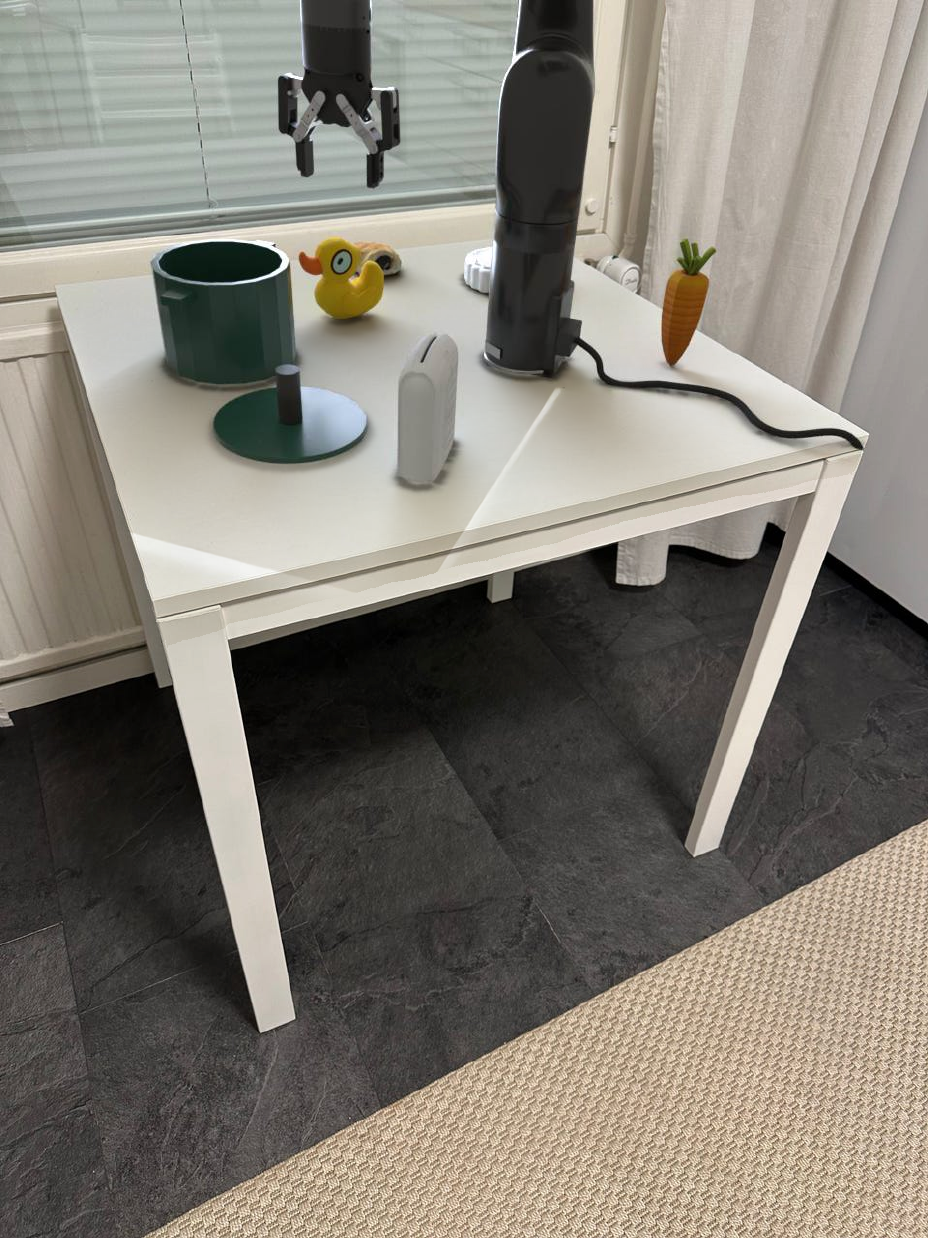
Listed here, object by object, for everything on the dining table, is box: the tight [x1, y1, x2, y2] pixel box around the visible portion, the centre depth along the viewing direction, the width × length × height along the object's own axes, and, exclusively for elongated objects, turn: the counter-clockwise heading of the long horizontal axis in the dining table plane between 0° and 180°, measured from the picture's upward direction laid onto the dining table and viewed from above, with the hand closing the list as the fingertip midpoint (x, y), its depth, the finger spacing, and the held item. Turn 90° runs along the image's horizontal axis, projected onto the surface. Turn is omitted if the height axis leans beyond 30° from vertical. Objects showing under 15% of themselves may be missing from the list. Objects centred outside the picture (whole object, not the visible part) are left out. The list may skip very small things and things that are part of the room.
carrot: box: [660, 238, 717, 367], centre depth 108 cm, size 5×5×15 cm
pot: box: [149, 238, 297, 386], centre depth 104 cm, size 15×20×12 cm
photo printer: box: [396, 332, 459, 483], centre depth 88 cm, size 10×4×12 cm, turn 168°
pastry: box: [353, 241, 403, 276], centre depth 133 cm, size 9×7×4 cm
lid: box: [212, 364, 368, 464], centre depth 93 cm, size 16×16×7 cm
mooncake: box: [463, 246, 492, 294], centre depth 131 cm, size 12×12×4 cm
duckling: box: [298, 236, 385, 320], centre depth 116 cm, size 11×5×10 cm, turn 122°
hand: (340, 181), depth 109 cm, fingers open, 8 cm apart
